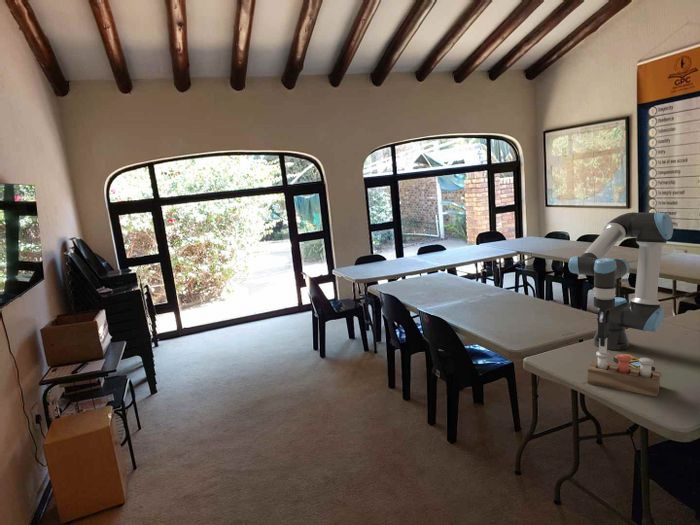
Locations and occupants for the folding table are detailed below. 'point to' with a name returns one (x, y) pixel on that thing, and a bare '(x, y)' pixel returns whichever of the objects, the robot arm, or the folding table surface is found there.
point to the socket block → (624, 379)
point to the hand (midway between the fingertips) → (602, 352)
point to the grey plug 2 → (645, 367)
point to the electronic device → (633, 362)
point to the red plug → (623, 363)
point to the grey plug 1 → (602, 360)
